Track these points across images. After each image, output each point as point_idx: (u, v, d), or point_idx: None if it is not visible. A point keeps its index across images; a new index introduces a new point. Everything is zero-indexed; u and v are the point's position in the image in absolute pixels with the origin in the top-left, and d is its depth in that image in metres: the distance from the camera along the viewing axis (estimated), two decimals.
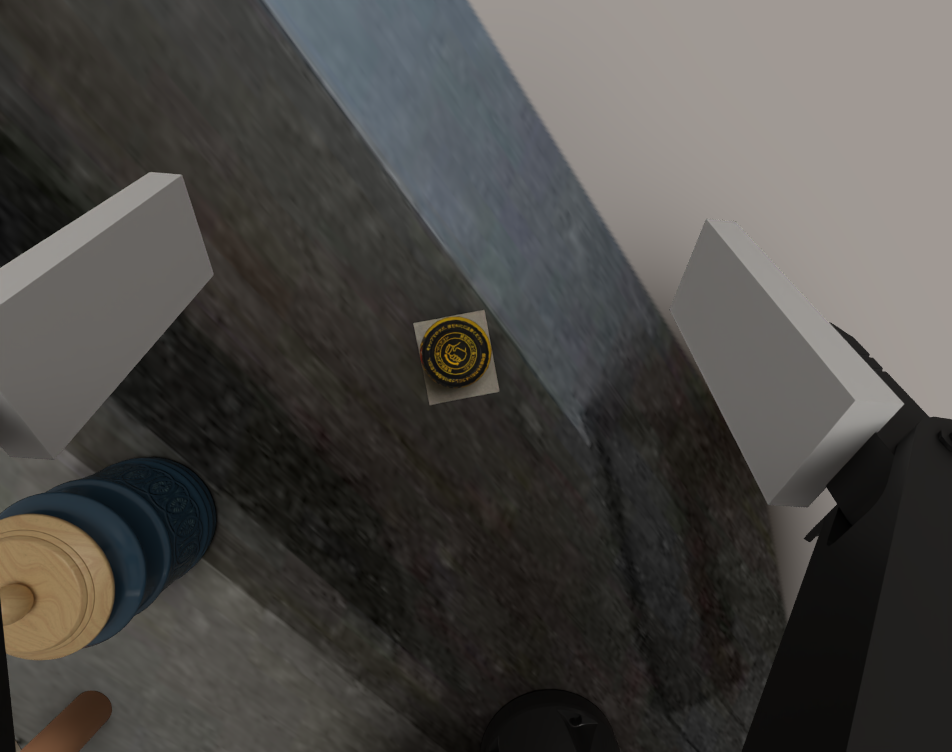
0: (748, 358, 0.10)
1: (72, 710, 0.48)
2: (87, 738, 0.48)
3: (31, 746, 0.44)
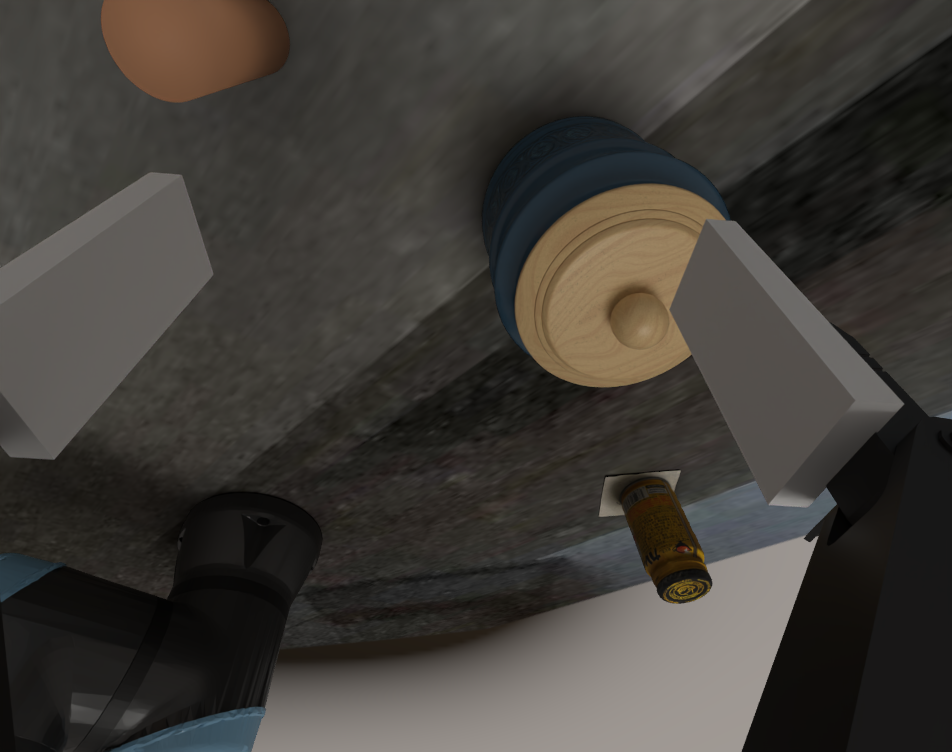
0: (749, 358, 0.10)
1: (277, 45, 0.27)
2: None
3: (251, 39, 0.23)
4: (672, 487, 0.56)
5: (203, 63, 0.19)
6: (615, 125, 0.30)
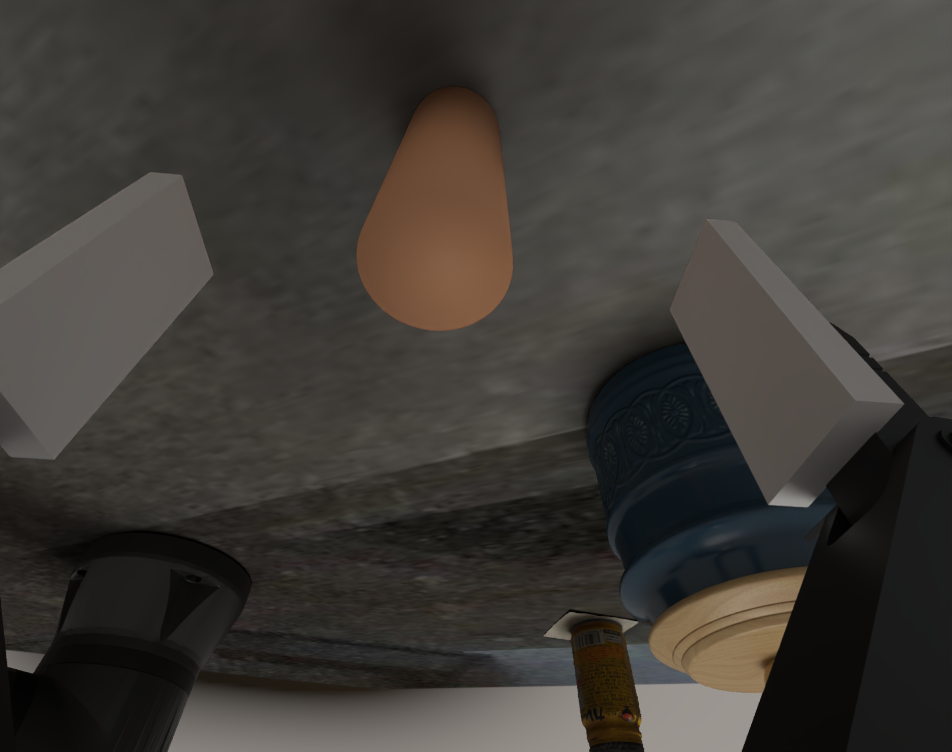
0: (748, 358, 0.10)
1: None
2: None
3: None
4: (622, 630, 0.56)
5: (480, 305, 0.13)
6: None
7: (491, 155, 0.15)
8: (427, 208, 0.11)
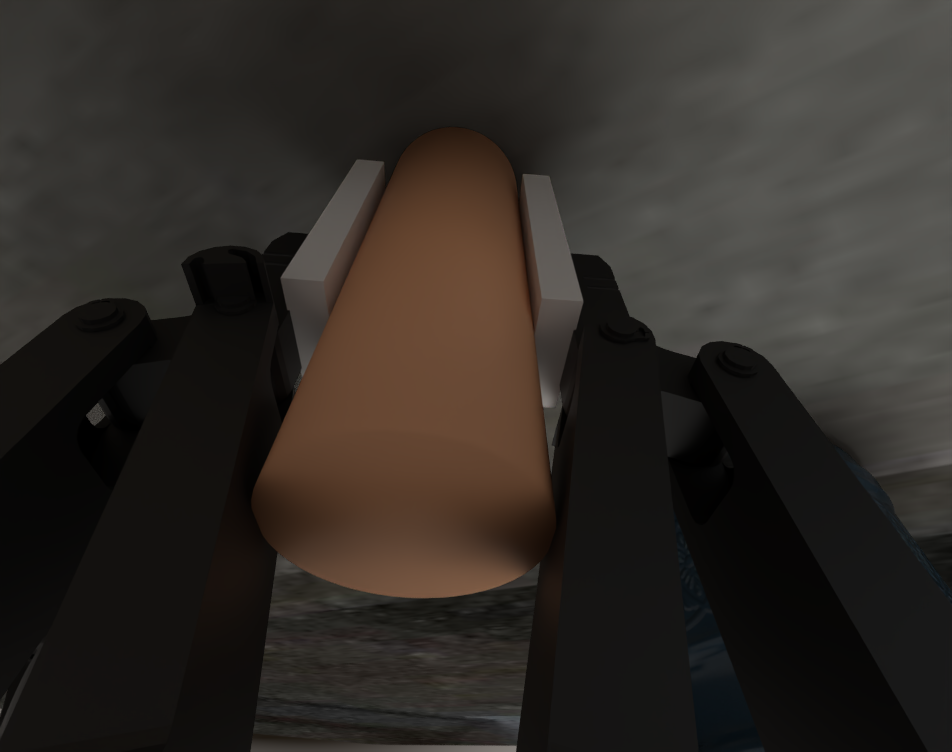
0: None
1: None
2: None
3: None
4: None
5: (491, 573, 0.07)
6: (882, 495, 0.21)
7: (510, 267, 0.09)
8: (384, 458, 0.05)
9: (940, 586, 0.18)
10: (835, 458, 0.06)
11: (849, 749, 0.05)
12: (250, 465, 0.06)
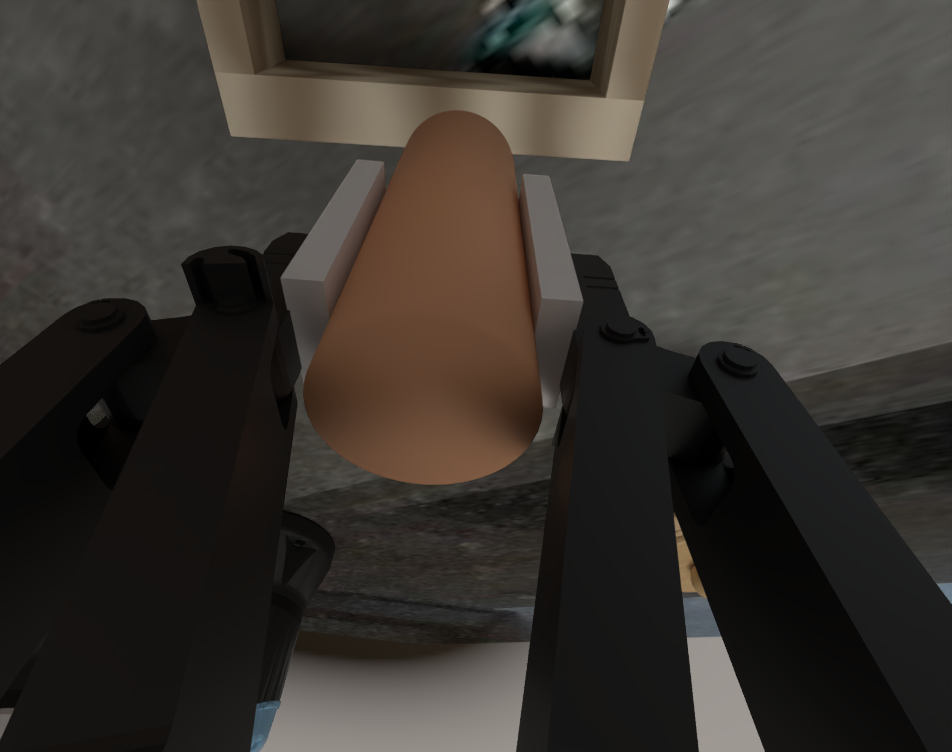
0: None
1: None
2: None
3: None
4: None
5: (491, 457, 0.09)
6: None
7: (507, 220, 0.11)
8: (409, 340, 0.07)
9: None
10: (835, 458, 0.06)
11: (849, 749, 0.05)
12: (250, 465, 0.06)
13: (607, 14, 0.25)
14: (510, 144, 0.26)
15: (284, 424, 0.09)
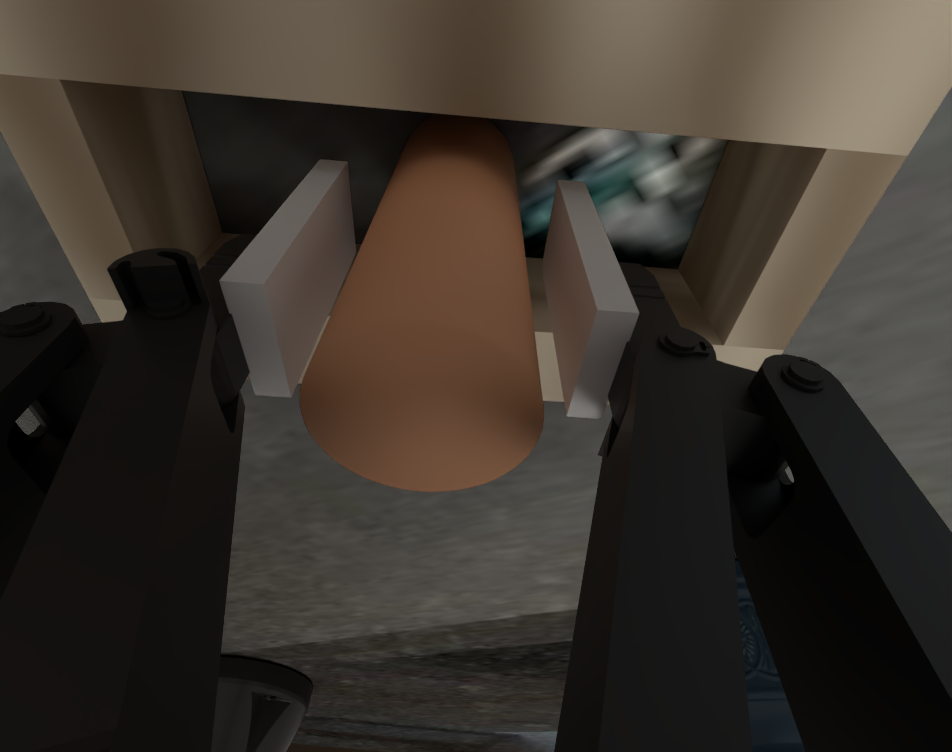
0: (566, 294, 0.11)
1: None
2: None
3: None
4: None
5: (492, 464, 0.09)
6: None
7: (507, 222, 0.11)
8: (407, 347, 0.07)
9: None
10: (905, 481, 0.06)
11: None
12: (192, 469, 0.06)
13: (725, 204, 0.16)
14: None
15: (231, 428, 0.09)
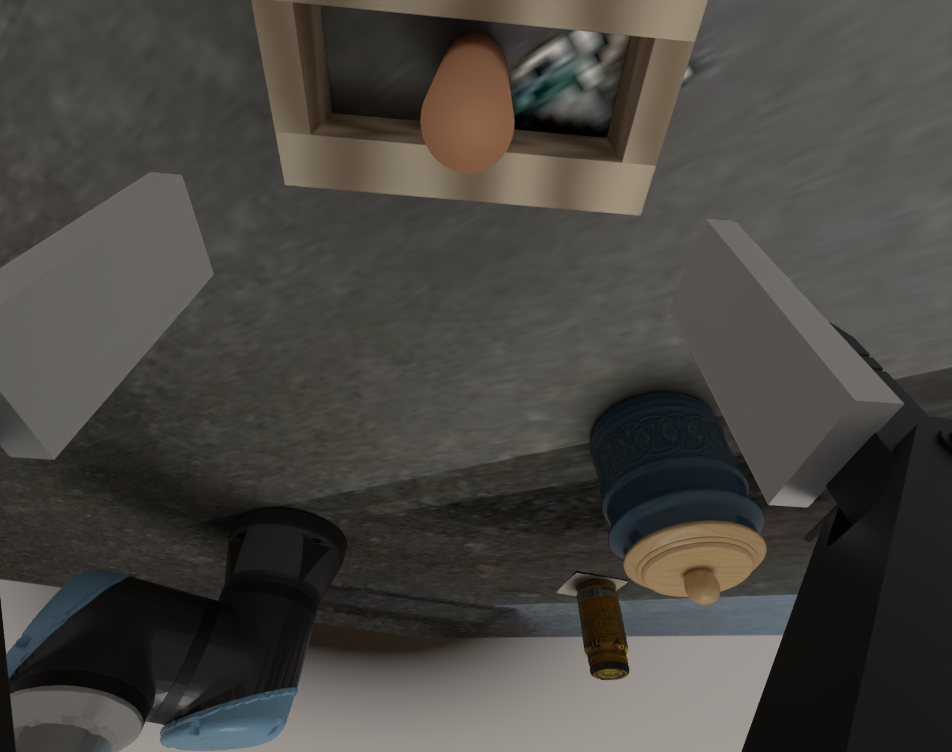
0: (749, 358, 0.10)
1: None
2: None
3: None
4: (616, 589, 0.74)
5: (494, 152, 0.21)
6: (712, 419, 0.45)
7: (501, 67, 0.23)
8: (464, 83, 0.19)
9: (723, 452, 0.42)
10: None
11: None
12: None
13: (625, 86, 0.28)
14: (535, 198, 0.29)
15: None
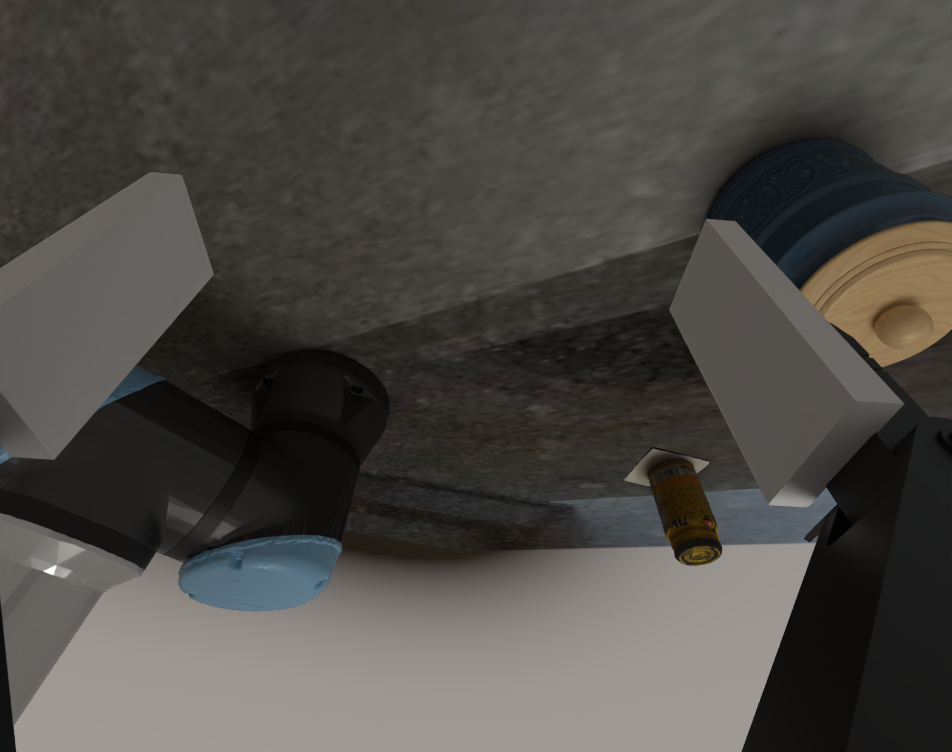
0: (748, 358, 0.10)
1: None
2: None
3: None
4: None
5: None
6: None
7: None
8: None
9: None
10: None
11: None
12: None
13: None
14: None
15: None
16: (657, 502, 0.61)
